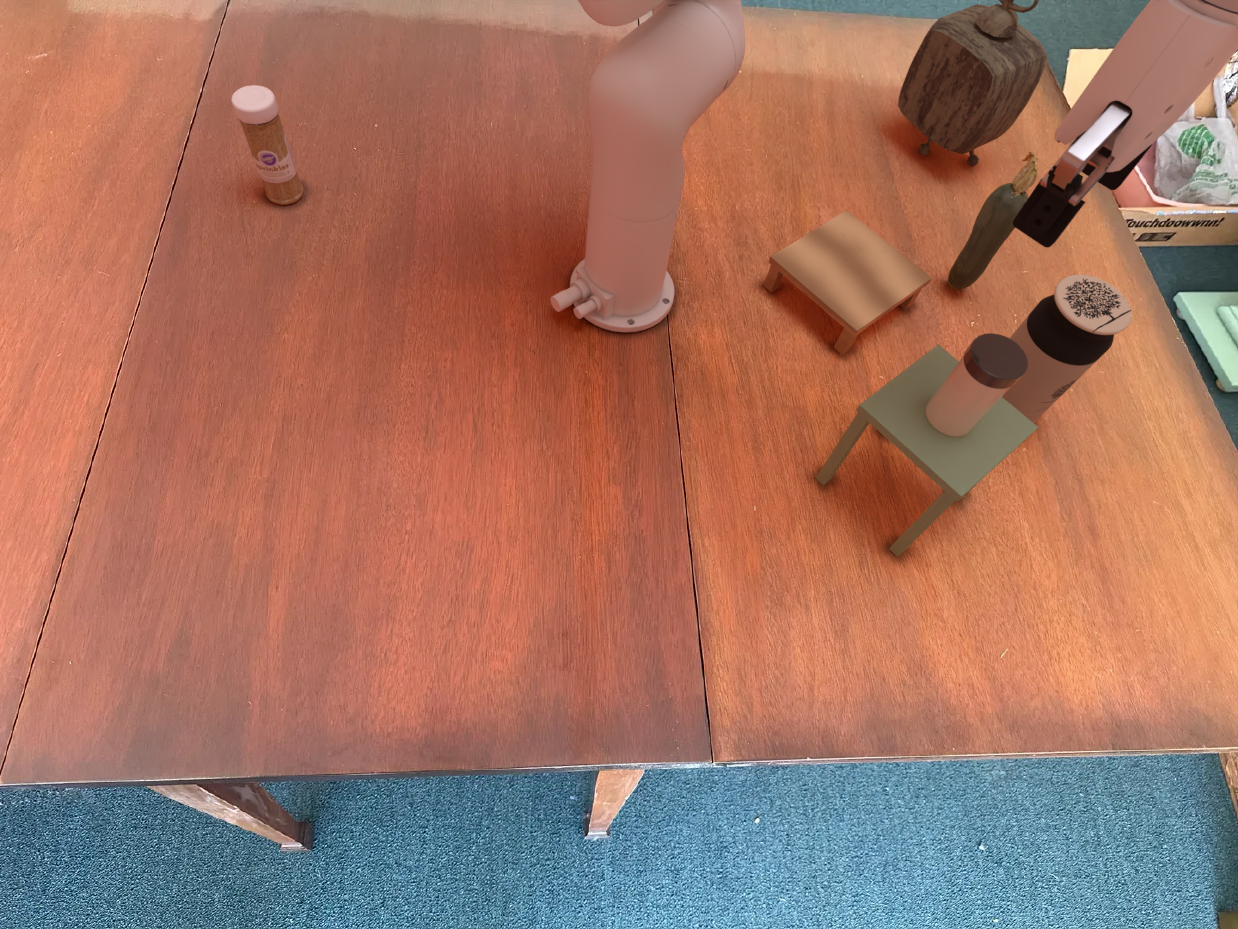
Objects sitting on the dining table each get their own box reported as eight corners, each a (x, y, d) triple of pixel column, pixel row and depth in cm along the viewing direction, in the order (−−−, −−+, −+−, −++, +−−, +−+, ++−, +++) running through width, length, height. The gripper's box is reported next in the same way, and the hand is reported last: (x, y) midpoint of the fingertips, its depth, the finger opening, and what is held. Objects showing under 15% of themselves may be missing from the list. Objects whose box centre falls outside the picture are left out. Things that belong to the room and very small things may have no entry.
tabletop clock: (987, 169, 112) (1094, -7, 91) (945, 190, 109) (1045, 12, 88) (917, 112, 118) (1002, -68, 96) (874, 130, 115) (953, -52, 93)
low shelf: (842, 358, 92) (857, 330, 88) (759, 285, 97) (770, 256, 93) (915, 305, 98) (932, 277, 93) (833, 239, 102) (846, 209, 98)
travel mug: (952, 389, 91) (1037, 282, 76) (1004, 371, 93) (1098, 263, 78) (992, 444, 88) (1090, 343, 72) (1046, 424, 90) (1152, 322, 75)
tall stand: (897, 560, 80) (961, 496, 67) (812, 478, 83) (859, 404, 71) (966, 497, 84) (1038, 427, 72) (883, 422, 88) (938, 344, 76)
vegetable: (967, 306, 98) (1058, 177, 81) (933, 299, 98) (1017, 168, 81) (966, 281, 101) (1055, 150, 83) (933, 273, 101) (1015, 141, 83)
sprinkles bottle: (270, 209, 96) (233, 112, 84) (263, 184, 98) (226, 86, 86) (308, 201, 97) (277, 105, 85) (300, 177, 99) (269, 80, 87)
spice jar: (954, 447, 70) (1006, 389, 62) (913, 411, 72) (959, 350, 64) (985, 420, 72) (1039, 360, 64) (945, 386, 73) (993, 323, 66)
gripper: (1244, -108, 48) (1079, 134, 62) (1108, -20, 41) (959, 228, 56) (1364, -53, 45) (1163, 185, 60) (1242, 49, 38) (1049, 290, 53)
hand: (1065, 206), depth 58 cm, fingers open, 9 cm apart
